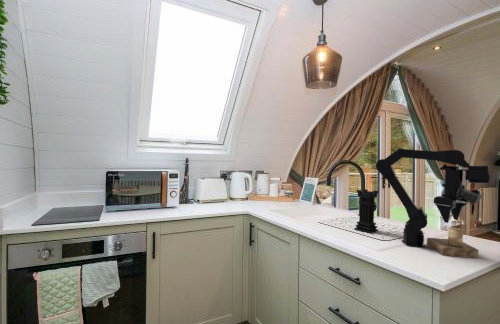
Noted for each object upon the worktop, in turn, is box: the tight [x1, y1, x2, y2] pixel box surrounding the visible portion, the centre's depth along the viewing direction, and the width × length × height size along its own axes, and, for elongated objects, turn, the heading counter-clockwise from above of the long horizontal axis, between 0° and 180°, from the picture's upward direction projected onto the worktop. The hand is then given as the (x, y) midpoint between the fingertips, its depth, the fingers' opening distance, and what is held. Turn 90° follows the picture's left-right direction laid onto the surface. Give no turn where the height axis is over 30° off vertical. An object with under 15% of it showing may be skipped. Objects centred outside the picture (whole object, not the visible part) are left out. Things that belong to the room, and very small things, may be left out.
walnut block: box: [426, 237, 479, 259], centre depth 106 cm, size 12×12×3 cm
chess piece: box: [353, 188, 379, 234], centre depth 132 cm, size 8×8×20 cm
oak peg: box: [447, 227, 464, 248], centre depth 103 cm, size 4×4×9 cm
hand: (451, 221), depth 105 cm, fingers open, 9 cm apart
